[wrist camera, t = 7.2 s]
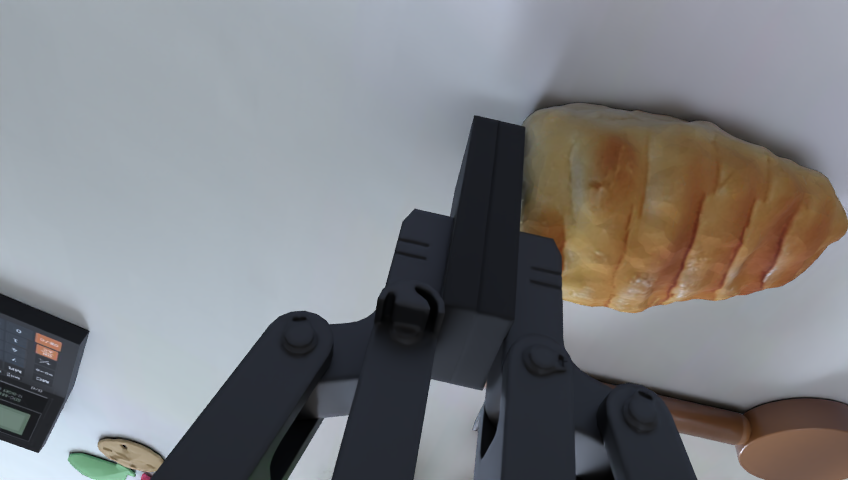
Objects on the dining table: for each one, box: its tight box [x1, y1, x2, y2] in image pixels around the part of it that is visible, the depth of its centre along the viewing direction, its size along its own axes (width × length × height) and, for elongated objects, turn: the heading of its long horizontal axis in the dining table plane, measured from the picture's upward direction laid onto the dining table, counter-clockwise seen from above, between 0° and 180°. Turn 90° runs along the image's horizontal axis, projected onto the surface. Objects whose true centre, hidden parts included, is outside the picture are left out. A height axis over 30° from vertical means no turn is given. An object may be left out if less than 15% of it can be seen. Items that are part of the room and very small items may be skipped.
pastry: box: [520, 103, 848, 313], centre depth 17 cm, size 9×7×4 cm
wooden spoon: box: [483, 382, 848, 480], centre depth 26 cm, size 19×5×1 cm, turn 81°
